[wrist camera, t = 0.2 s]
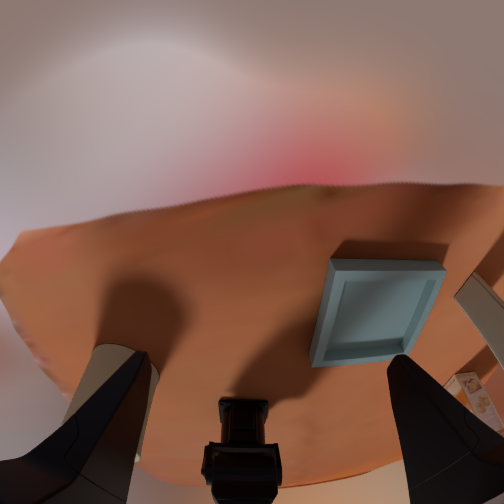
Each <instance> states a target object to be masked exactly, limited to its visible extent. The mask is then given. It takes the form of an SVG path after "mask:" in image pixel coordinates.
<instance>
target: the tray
mask: <svg viewBox="0 0 504 504" xmlns="http://www.w3.org/2000/svg"><path fill="white" fill-rule="evenodd" d="M446 272H447V270H446V269H445V268H444V267H443V266H442V265H441V264H440V263H439V262H438V261H437V260H385V259H332V258H330V259H329V264H328V270H327V275H326V280H325V285H324V290H323V295H322V299H321V304H320V308H319V313H318V317H317V322H316V326H315V330H314V334H313V339H312V343H311V347H310V351H309V358H310V363H311V367H312V368H315V367H330V366H343V365H354V364H363V363H372V362H380V361H387V360H393V358H394V356H395V355H398V354H406V355H407V356H408V355H409V354H410V352H411V350H412V348H413V346H414V344H415V342H416V340H417V338H418V336H419V334H420V332H421V330H422V328H423V326H424V324H425V322H426V320H427V318H428V315H429V313H430V311H431V309H432V307H433V304H434V302H435V300H436V297H437V295H438V292H439V290H440V287H441V285H442V282H443V280H444V277H445V275H446Z"/></svg>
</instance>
